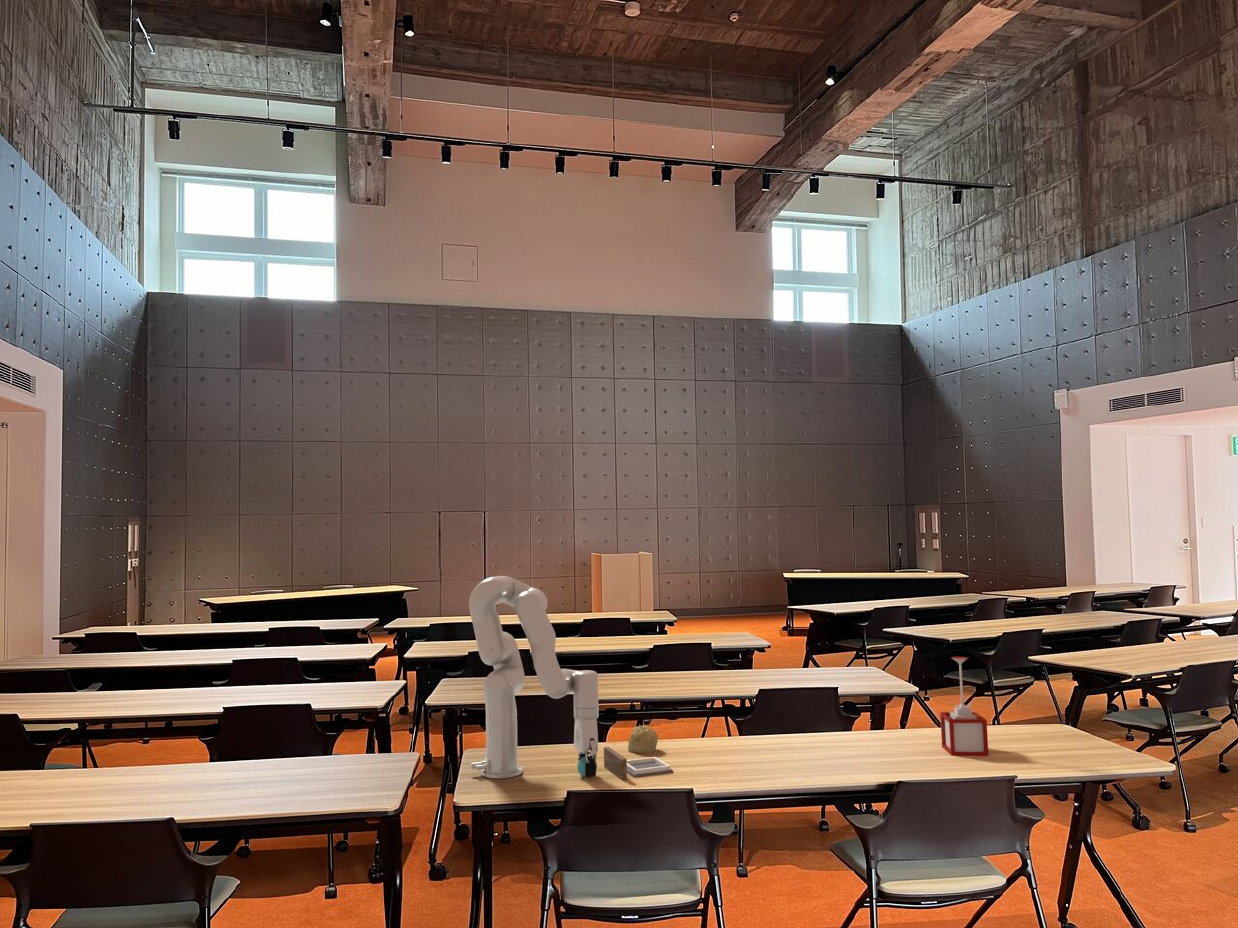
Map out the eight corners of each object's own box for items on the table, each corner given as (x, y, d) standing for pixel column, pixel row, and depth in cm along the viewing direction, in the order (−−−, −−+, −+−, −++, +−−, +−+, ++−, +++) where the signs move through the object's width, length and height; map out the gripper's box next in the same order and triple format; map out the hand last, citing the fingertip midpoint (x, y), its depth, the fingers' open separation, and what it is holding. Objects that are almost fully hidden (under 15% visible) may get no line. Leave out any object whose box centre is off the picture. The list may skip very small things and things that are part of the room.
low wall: (621, 780, 250) (621, 759, 251) (604, 766, 265) (603, 747, 266) (626, 779, 251) (626, 758, 251) (608, 766, 266) (608, 746, 266)
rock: (649, 756, 290) (637, 729, 294) (668, 745, 283) (655, 716, 287) (628, 764, 283) (616, 736, 287) (647, 752, 276) (635, 724, 280)
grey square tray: (633, 777, 253) (633, 770, 253) (618, 766, 265) (618, 760, 265) (673, 772, 258) (673, 766, 258) (656, 761, 270) (656, 756, 270)
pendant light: (977, 747, 281) (972, 655, 283) (988, 755, 269) (983, 660, 272) (942, 746, 282) (937, 655, 284) (951, 755, 271) (946, 660, 273)
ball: (580, 780, 251) (580, 759, 252) (574, 775, 257) (574, 754, 257) (599, 777, 253) (599, 757, 254) (593, 772, 259) (593, 752, 259)
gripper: (566, 708, 263) (567, 767, 262) (583, 719, 247) (584, 782, 246) (589, 706, 266) (590, 764, 264) (607, 716, 250) (608, 779, 248)
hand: (587, 772), depth 255 cm, fingers closed on ball, 5 cm apart
